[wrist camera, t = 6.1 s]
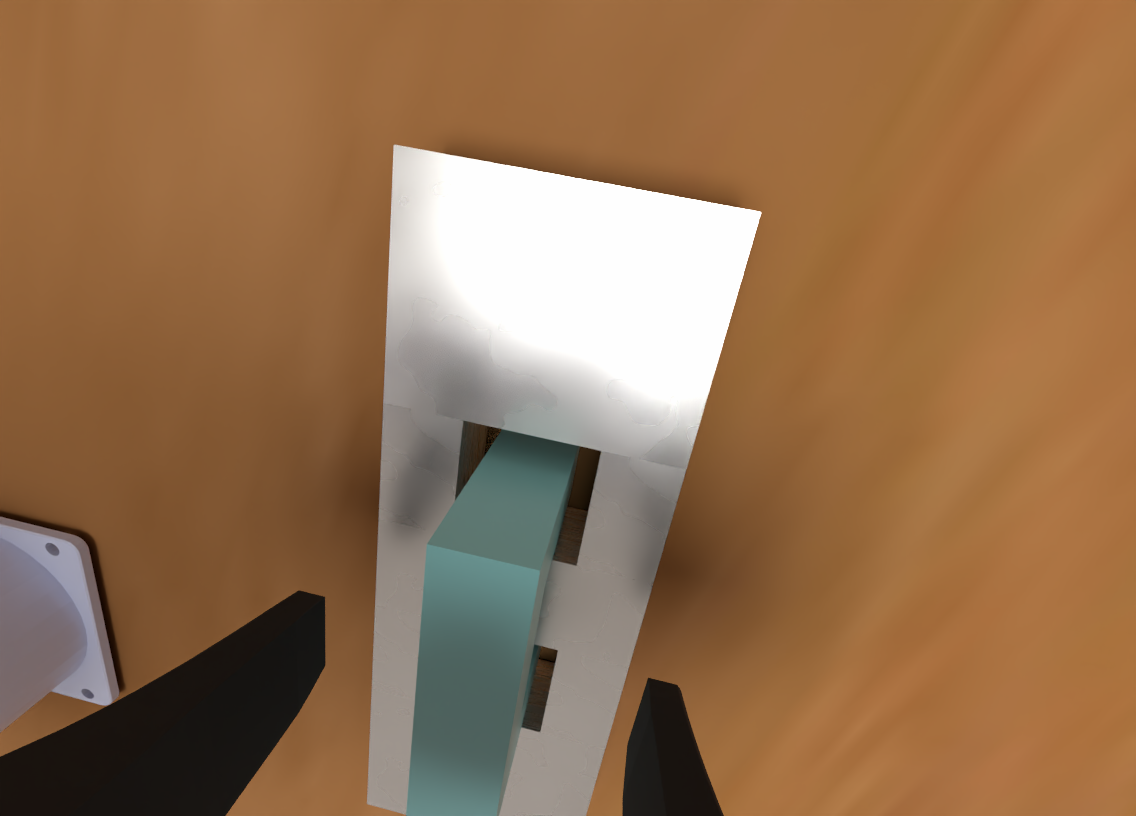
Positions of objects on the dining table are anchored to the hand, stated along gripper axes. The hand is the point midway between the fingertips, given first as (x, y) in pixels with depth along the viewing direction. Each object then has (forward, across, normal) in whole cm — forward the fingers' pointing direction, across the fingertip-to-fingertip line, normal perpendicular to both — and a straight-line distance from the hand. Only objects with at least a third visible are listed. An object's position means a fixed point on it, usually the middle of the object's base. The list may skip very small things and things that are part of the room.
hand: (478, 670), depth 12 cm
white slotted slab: (+5, 0, 0) cm, 5 cm away
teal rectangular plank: (+5, 0, 0) cm, 5 cm away
